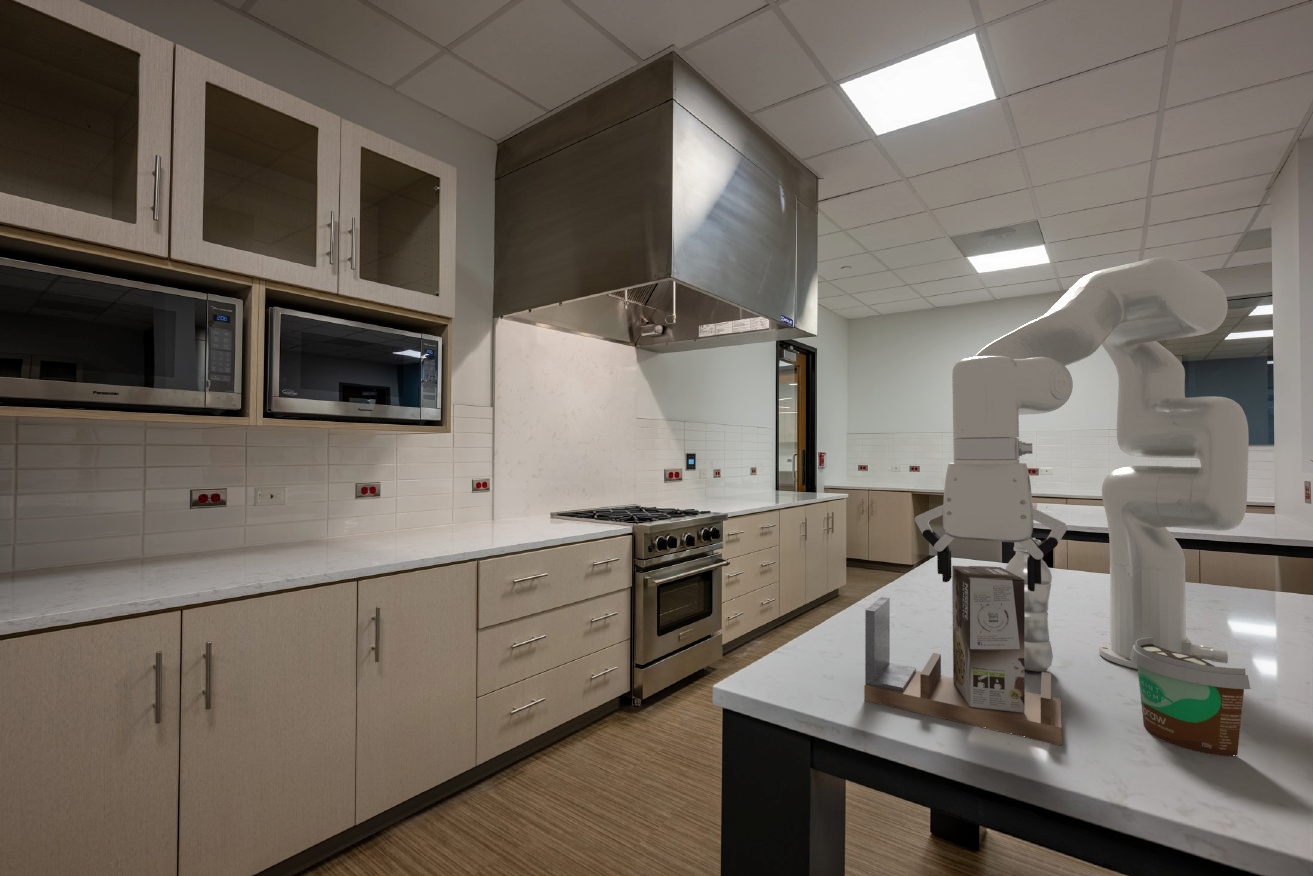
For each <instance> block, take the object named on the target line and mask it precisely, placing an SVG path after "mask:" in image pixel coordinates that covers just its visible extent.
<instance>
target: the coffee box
mask: <svg viewBox="0 0 1313 876" xmlns="http://www.w3.org/2000/svg"><path fill="white" fill-rule="evenodd" d="M1005 569H1006V568H1003V567H1001V566H986V565H985V566H984V565H983V566H981V565H980V566H979V565H967V566H964V565H951V571H952V577H951V580H952V581H951V584H952V587H951V589H952V592H951V593H952V595H951V597H952V602H951V603H952V605H951V606H952V661H953V662H952V671H953V672H952V675H953V676H952V678H953V682H954V684H955V685H956V687H957V688H958V690H959V691H960V692H961V694H962V695H963V697H964V698H965V700H966V701H967V703H968V704H969V705H970V707H975V708H984V709H994V710H1003V711H1011V712H1019V713H1023V712H1024V710H1025V692H1026V690H1025V688H1026V686H1025V685H1026V684H1025V683H1026V682H1025V676H1026V675H1025V671H1026V670H1025V664H1024V662H1025V660H1024V656H1025V653H1024V628H1025V626H1024V624H1025V593H1024V589H1025V580H1024V579H1022V578H1021V577H1019V576H1017V575H1015V574H1013V573H1011V572H1009V571H1007V570H1005Z"/></svg>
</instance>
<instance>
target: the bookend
mask: <svg viewBox="0 0 1313 876" xmlns="http://www.w3.org/2000/svg"><path fill="white" fill-rule="evenodd" d="M890 599H891V598H890V597H885V596H884V597H883V596H880V597H879V598H878V599H877V600H875V601H874V602H873V603H872V604H870V605H869V607H867V608H866V609H865V613H864V614H865V619H864V620H865V622H864V623H865V629H864V630H865V636H864V637H865V640H864V641H865V644H864V645H865V648H864V649H865V651H864V652H865V654H864V655H865V659H864V660H865V662H864V663H865V664H864V665H865V667H864V668H865V669H864V672H865V673H864V674H865V675H864V676H865V677H864V678H865V680H864V681H865V682H864V683H865V684H866V685H871V686H875V687H880V688H885V689H889V690H894V691H899V692H904V690H905V688H906V687H907V685H908V684H909V682H910V681H911V679H912V677H913V676H914V674H915V673H916V671H917V667H915V666H909V665H904V664H900V663H899V664H898V663H893V662H891V661H890V657H891V656H890V654H891V653H890V651H891V650H890V649H891V647H890V646H891V643H890V641H891V639H890V638H891V636H890V635H891V633H890V631H891V629H890V628H891V627H890V625H891V624H890V623H891V622H890V618H891V617H890V613H891V612H890V610H891V609H890V607H891V605H890V604H891V602H890V601H891V600H890ZM865 684H864V685H865Z"/></svg>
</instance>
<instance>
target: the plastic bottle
mask: <svg viewBox="0 0 1313 876" xmlns="http://www.w3.org/2000/svg"><path fill="white" fill-rule="evenodd" d="M1033 539H1034V540H1035V541H1036V542H1037V543H1038V544H1040V543H1041V542H1042V541H1041V540H1040V539H1035V538H1033ZM1013 543H1014V546H1013V551H1014V552H1015V555H1013V557H1012V558H1011V559H1010V560H1009V561H1008V563H1007V564H1006V567H1005V568H1004V569H1005V570H1007V571H1009V572H1011V573H1013V574H1015V575H1017V576H1019V577H1021V578H1022V579H1024V580H1025V589H1024V593H1025V624H1024V626H1025V628H1024V653H1025V656H1024V660H1025V662H1024V664H1025V671H1030V672H1045V671H1047V670H1048V671H1049V668H1050V667H1051V666H1052V662H1053V658H1054V655H1053V648H1052V644H1051V641H1050V630H1049V613H1048V611H1049V602H1050V601H1049V600H1050V595H1051V588H1052V581H1053V580H1052V579H1053V576H1052V573H1051V569H1050V568H1049V566H1048V565H1047V563H1046V561H1044V559H1043V558H1042V559H1041V584H1035V592H1034V591H1030V590H1028V575H1027V558H1028V556H1029V552H1028V551H1027V550H1026V549H1025V548H1024V547H1023V546H1022V545H1021V544H1020V543H1019V542H1013Z"/></svg>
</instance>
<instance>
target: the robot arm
mask: <svg viewBox="0 0 1313 876" xmlns="http://www.w3.org/2000/svg"><path fill="white" fill-rule="evenodd" d="M1228 309H1229V308H1228V300H1227V295H1226V293H1225V291H1224V289H1223V287H1222V286H1221V285H1220V284H1219V283H1218V282H1217V281H1216V280H1215V279H1214V278H1212V277H1210V276H1209V275H1208V274H1206V273H1204V272H1202V271H1200V270H1198V269H1197V268H1195V267H1193V266H1192V265H1190V264H1188V263H1186V262H1184V261H1181V260H1177V259H1175V258H1172V257H1171V258H1170V257H1163V256H1161V257H1160V256H1159V257H1152V258H1147V259H1143V260H1139V261H1134V262H1130V263H1125V264H1122V265H1117V266H1113V267H1108V268H1103V269H1100V270H1096V271H1093V272H1092V273H1089V274H1086V275H1084V276H1083V277H1081V278H1080V279H1078V280H1077V282H1075V283H1074V284H1073V285H1072V286H1071V287H1070V288H1069V289H1068V290H1067V291H1066V292H1065V293H1064V294H1063V295H1062V296H1061V298H1059V300H1058V301H1057V302H1056V303H1055V304H1054V305H1053V306H1051V308H1049V310H1048V311H1046V313H1044V315H1042V316H1040V317H1038V318H1037V319H1034V320H1031V321H1029V322H1028V323H1026V324H1024V325H1022V326H1020V327H1018V328H1016V329H1015V330H1013V331H1011V332H1009V333H1007V334H1005V335H1003V336H1001V337H999V338H997V339H995V340H994V341H992V342H991V343H989V344H987V345H986V346H984V347H983V348H981V349H980V350H979V351H977V353H975V355H974V356H973V357H968V358H963V359H961V360H958V361H957V362H956V363H955V364H954V365H953V368H952V377H951V378H952V383H951V385H952V431H953V433H952V434H953V435H952V436H953V437H952V438H953V439H952V440H953V441H952V442H953V443H952V444H953V450H952V451H953V462H948V465H947V468H946V473H945V481H944V487H943V488H944V491H943V504H942V505H939V506H937V507H934V508H933V509H930V510H927V511H924V512H922V513H921V514H919V515H917V516H915V518H914V522H915V524H916V525H917V527H918V529H919V531H920V532H921V534H922V537H923V538H924V539H925V540H926V541H927V542H928V543H929V544H930V545H931V546H932V547H933V548H934V550H935V551H937V552H936V553H937V554H936V555H937V557H936V558H937V561H936V562H937V563H936V564H937V565H936V567H937V574H938V575H942V577H941V578H942V583H948V582H950V581H951V580H952V550H951V549H950V546H949V545H950V544H951V542H952V541H954V540H955V539H959V540H960V539H961V540H970V541H971V540H973V541H985V542H986V541H987V542H988V541H989V542H1001V543H1014V542H1019V543H1020V544H1021V545H1022V546H1023V547H1024V548H1025V549H1026V550H1027V551H1028V552H1029V556H1028V558H1027V575H1028V590H1030V591H1034V592H1035V584H1041V559H1042V560H1043V558H1044V557H1045V556H1046V555H1047V554H1048V553H1049V552H1051V551H1052V550H1054V549H1055V548H1056V547H1057V546H1058V544H1059V543H1060V542H1061V540H1062V538H1063V536H1064V535H1065V534H1066V532H1067V530H1068V525H1067V523H1066V522H1063V521H1062V520H1059V519H1058V518H1055V517H1053V516H1051V515H1049V514H1047V513H1045V512H1043V511H1041V510H1039V509H1037V508H1035V507H1033V495H1032V484H1031V478H1030V473H1029V469H1028V466H1027V463H1024V462H1020V457H1022V456H1023V455H1024V456H1025V455H1027V454H1028V455H1032V454H1033V443H1031V442H1030V443H1029V442H1028V443H1027V442H1026V441H1025V442H1023V441H1022V440H1020V432H1019V431H1020V429H1019V428H1020V425H1019V423H1020V422H1019V420H1020V419H1019V417H1020V416H1023V415H1025V416H1026V415H1039V414H1046V413H1047V414H1048V413H1051V412H1054V411H1056V410H1058V409H1060V408H1062V407H1063V406H1064V405H1065V404H1067V402H1068V401H1069V399H1070V397H1071V396H1072V393H1073V386H1074V385H1073V384H1074V383H1073V382H1074V381H1073V378H1072V374H1071V372H1070V370H1069V369H1068V367H1067V366H1068V365H1072V364H1074V363H1078V362H1080V361H1083V360H1085V359H1086V358H1088V357H1090V356H1091V355H1093V354H1094V353H1095V352H1097V350H1098V349H1099V348H1100V346H1101V347H1103V348H1104V350H1105V352H1106V353H1107V354H1108V356H1109V358H1110V359H1111V361H1112V362H1113V365H1114V366H1115V368H1116V369H1115V370H1116V372H1117V377H1118V379H1117V380H1118V389H1117V390H1118V391H1117V410H1116V411H1117V412H1116V413H1117V414H1116V441H1117V444H1118V447H1119V449H1120V450H1121V451H1122V452H1123V453H1124V454H1127V455H1129V456H1132V457H1137V458H1151V459H1152V458H1154V459H1155V458H1156V459H1159V458H1160V459H1197V460H1199V463H1200V466H1171V465H1130V466H1123V467H1120V468H1116V469H1113V470H1112V471H1110V472H1109V473H1108V474H1107V475H1106V476H1105V478H1104V480H1103V481H1102V485H1101V498H1102V503H1103V507H1104V511H1105V516H1106V521H1107V527H1108V537H1109V539H1108V540H1109V588H1110V589H1109V598H1110V599H1109V607H1110V608H1109V611H1110V613H1109V615H1110V617H1109V618H1110V619H1109V620H1110V626H1109V627H1110V642H1106V643H1103V644H1100V645H1099V647H1098V653H1099V656H1102V657H1103V658H1104V659H1106V660H1107V661H1110V662H1112V663H1115V664H1116V665H1117V664H1118V665H1121V666H1124V667H1128V668H1132V669H1134V670H1138V668H1137V665H1136V664H1135V663H1133V662H1132V661H1131V659H1130V655H1131V651H1132V648H1133V645H1135V643H1136V640H1138V639H1141V638H1149V637H1153V640H1154V645H1155V646H1158V647H1161V648H1164V649H1167V650H1170V651H1173V652H1177V653H1183V654H1188V655H1192V656H1195V657H1198V658H1200V659H1202V660H1204V661H1210V662H1213V663H1220V664H1221V663H1222V664H1228V661H1229V656H1228V651H1227V650H1225V649H1218V648H1213V646H1210V645H1199V644H1194V643H1193V642H1191V640H1190V639H1189V638H1188V636H1187V616H1186V612H1187V610H1186V609H1187V606H1186V601H1187V600H1186V599H1187V598H1186V596H1187V595H1186V558H1185V557H1186V556H1185V554H1184V553H1185V552H1184V551H1183V549H1182V547H1181V545H1180V543H1179V542H1178V541H1177V540H1176V538H1175V537H1174V536H1173V534H1172V533H1170V531H1169V530H1168V529H1167V528H1179V529H1187V530H1189V529H1191V530H1192V529H1193V530H1200V531H1201V530H1202V531H1214V532H1215V531H1216V532H1219V531H1220V532H1221V531H1222V532H1225V531H1231V530H1233V529H1235V528H1237V527H1238V526H1240V524H1241V523H1242V522H1243V520H1244V518H1245V515H1246V511H1247V503H1248V502H1247V501H1248V478H1249V476H1248V475H1249V474H1248V472H1249V471H1248V470H1249V445H1250V444H1249V441H1250V440H1249V439H1250V438H1249V434H1250V433H1249V424H1248V419H1247V416H1246V414H1245V411H1244V410H1243V407H1242V406H1241V405H1240V404H1239V403H1238V402H1236V401H1235V400H1234V399H1231V398H1228V397H1224V396H1212V395H1211V396H1196V397H1192V396H1191V397H1186V393H1185V391H1186V389H1185V387H1186V384H1185V382H1186V381H1185V380H1186V370H1185V367H1184V365H1183V363H1181V361H1180V360H1179V359H1178V358H1177V356H1175V355H1174V354H1173V353H1172V352H1171V351H1170V350H1168V349H1167V348H1166V347H1164V346H1163V345H1162V344H1160V342H1159V341H1166V340H1168V341H1169V340H1176V339H1182V338H1191V337H1197V336H1202V335H1207V334H1209V333H1212V332H1214V331H1216V330H1217V329H1218V328H1219V327H1220V326H1221V325H1223V323H1224V321H1225V320H1226V317H1227V313H1228ZM941 516H942V528H943V532H944V534H943V535H941V537H940V535H938V534H937V533H936V532H935V531H934V530H933V529H932V527H931V525H930V521H933V520H934V519H937V518H939V517H941ZM1034 521H1035V522H1038V523H1039V524H1041V525H1044V526H1045V527H1048V528H1050V530H1051V531H1050V532H1049V534H1048V536H1047V537H1046V538H1045V539H1044V540H1043V541H1041V543H1040V544H1038V543H1037V542H1036V541H1035V540H1034V539H1035V538H1033V537H1032V535H1033V533H1034Z"/></svg>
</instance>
